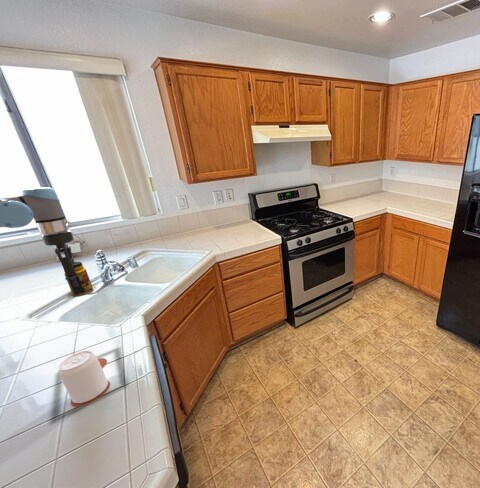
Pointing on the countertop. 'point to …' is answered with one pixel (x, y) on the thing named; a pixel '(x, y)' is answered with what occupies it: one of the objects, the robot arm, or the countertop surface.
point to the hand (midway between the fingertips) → (79, 290)
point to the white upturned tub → (82, 376)
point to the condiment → (83, 279)
